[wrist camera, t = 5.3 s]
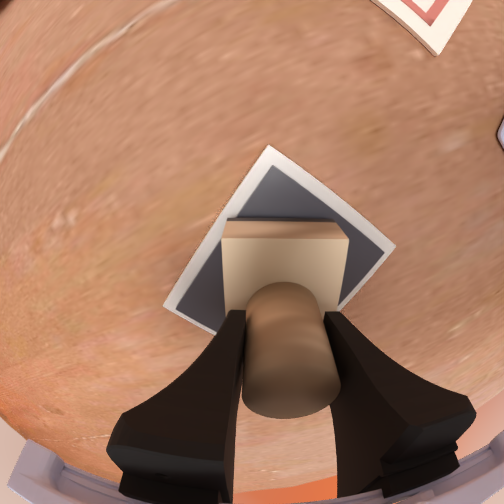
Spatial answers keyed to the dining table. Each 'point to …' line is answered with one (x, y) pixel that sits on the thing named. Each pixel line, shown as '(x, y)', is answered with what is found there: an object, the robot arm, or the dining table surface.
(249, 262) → the stamp
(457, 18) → the board
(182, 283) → the ink pad
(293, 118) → the dining table surface
